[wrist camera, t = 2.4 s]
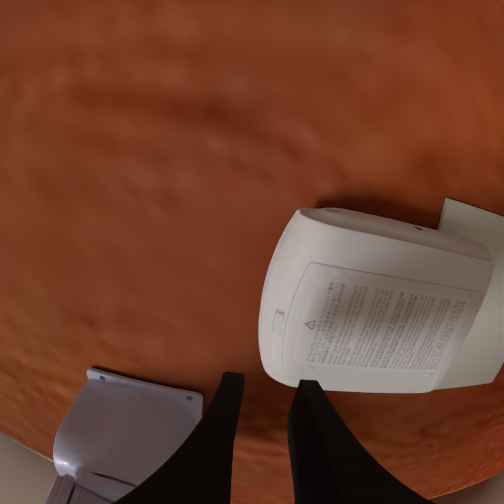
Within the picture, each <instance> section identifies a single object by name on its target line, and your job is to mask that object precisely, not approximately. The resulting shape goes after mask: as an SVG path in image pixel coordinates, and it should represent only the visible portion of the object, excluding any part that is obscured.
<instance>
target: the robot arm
mask: <svg viewBox="0 0 504 504" xmlns="http://www.w3.org/2000/svg"><path fill="white" fill-rule="evenodd" d="M87 376H88V379H87V381H86V383H85V384H84V386H83V388H82V389H81V391H80V392H79V394H78V396H77V397H76V399H75V401H74V402H73V404H72V406H71V407H70V409H69V411H68V413H67V414H66V416H65V418H64V419H63V421H62V423H61V425H60V427H59V429H58V431H57V434H56V438H55V442H54V448H53V459H54V463H55V467H56V470H57V471H58V473H59V474H60V476H57V477H56V479H55V480H54V482H53V484H52V486H51V488H50V490H49V492H48V494H47V497H46V499H45V501H44V503H43V504H230V495H231V476H232V459H233V444H234V439H235V434H236V429H237V423H238V418H239V413H240V408H241V403H242V397H243V392H244V374H242V373H234V372H225V373H223V376H222V380H221V383H220V385H219V388H218V390H217V392H216V394H215V396H214V398H213V400H212V402H211V403H210V405H209V407H208V408H207V410H206V412H205V413H204V415H203V417H202V409H203V395H202V394H200V393H198V392H193V391H188V390H182V389H177V388H172V387H167V386H162V385H157V384H153V383H148V382H144V381H140V380H136V379H132V378H128V377H124V376H120V375H116V374H112V373H109V372H105V371H102V370H98V369H95V368H89V369H88V370H87ZM188 396H190V397H188ZM288 445H289V453H290V461H291V468H292V476H293V484H294V495H295V504H435V503H433V502H431V501H429V500H427V499H426V498H424V497H422V496H420V495H419V494H417V493H416V492H414V491H413V490H411V489H410V488H408V487H407V486H405V485H404V484H403V483H401V482H400V481H399V480H398V479H396V478H395V477H394V476H393V475H391V474H390V473H389V472H388V471H387V470H385V469H384V468H383V467H382V466H381V465H380V464H379V463H378V462H377V461H376V460H375V459H374V458H373V457H372V456H371V455H370V454H369V453H368V452H367V451H366V449H365V448H364V447H363V446H362V445H361V444H360V442H359V441H358V440H357V439H356V437H355V436H354V435H353V434H352V432H351V431H350V430H349V428H348V427H347V426H346V424H345V423H344V421H343V420H342V419H341V417H340V416H339V414H338V413H337V411H336V410H335V408H334V407H333V405H332V404H331V402H330V400H329V399H328V397H327V395H326V394H325V392H324V391H323V389H322V387H321V386H320V384H319V382H318V381H317V380H305V379H300V381H299V384H298V387H297V390H296V393H295V396H294V399H293V402H292V405H291V408H290V411H289V414H288Z"/></svg>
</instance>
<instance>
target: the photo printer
mask: <svg viewBox="0 0 504 504" xmlns="http://www.w3.org/2000/svg"><path fill="white" fill-rule="evenodd" d="M493 270H494V264H493V260H492V256H491V254H490V252H489V250H488V249H487V248H486V246H484V245H483V244H482V243H480V242H477V241H473V240H470V239H466V238H463V237H459V236H456V235H452V234H449V233H445V232H441V231H437V230H434V229H430V228H426V227H422V226H417V225H414V224H410V223H406V222H402V221H397V220H393V219H389V218H384V217H380V216H375V215H371V214H366V213H362V212H357V211H352V210H348V209H342V208H321V209H316V208H300V209H298V210H297V211H296V212H295V214H294V215H293V217H292V219H291V220H290V222H289V223H288V225H287V227H286V228H285V230H284V232H283V234H282V236H281V238H280V240H279V242H278V244H277V247H276V249H275V252H274V254H273V257H272V259H271V262H270V265H269V268H268V272H267V275H266V279H265V283H264V287H263V292H262V298H261V306H260V314H259V348H260V355H261V360H262V364H263V367H264V370H265V371H266V373H267V374H268V375H269V376H271V377H272V378H273V379H275V380H276V381H278V382H280V383H283V384H285V385H288V386H292V387H298V384H299V381H300V379H305V380H317V381H318V382H319V384H320V386H321V387H322V389H323V390H332V391H348V392H372V393H425V392H430V391H432V390H433V389H434V388H435V387H436V386H437V385H438V384H439V383H440V381H441V380H442V379H443V377H444V375H445V374H446V372H447V371H448V369H449V367H450V366H451V364H452V362H453V361H454V359H455V357H456V355H457V353H458V352H459V350H460V348H461V346H462V344H463V343H464V341H465V339H466V337H467V335H468V333H469V331H470V329H471V327H472V325H473V322H474V320H475V318H476V316H477V314H478V312H479V310H480V308H481V305H482V303H483V300H484V298H485V295H486V293H487V290H488V287H489V285H490V281H491V278H492V274H493Z"/></svg>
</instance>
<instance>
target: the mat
mask: <svg viewBox="0 0 504 504" xmlns="http://www.w3.org/2000/svg"><path fill="white" fill-rule="evenodd" d="M437 231H441V232H445V233H449V234H452V235H456V236H459V237H463V238H466V239H470V240H473V241H477V242H480V243H482V244H483V245H484V246H486V248H487V249H488V250H489V252H490V254H491V256H492V260H493V264H494V270H493V274H492V278H491V281H490V285H489V287H488V290H487V293H486V295H485V298H484V300H483V303H482V305H481V308H480V310H479V312H478V314H477V316H476V318H475V320H474V322H473V325H472V327H471V329H470V331H469V333H468V335H467V337H466V339H465V341H464V343H463V344H462V346H461V348H460V350H459V352H458V353H457V355H456V357H455V359H454V361H453V362H452V364H451V366H450V367H449V369H448V371H447V372H446V374H445V375H444V377H443V379H442V380H441V381H440V383H439V384H438V385H437V386H436V387H435V388H434V389H433V390H435V389H446V388H456V387H464V386H472V385H480V384H486V383H492V381H493V380H494V378H495V377H496V375H497V373H498V372H499V370H500V368H501V366H502V365H503V363H504V217H503V216H500V215H497V214H494V213H491V212H488V211H486V210H483V209H480V208H477V207H474V206H471V205H468V204H464V203H461V202H458V201H455V200H452V199H448V198H445V201H444V206H443V210H442V214H441V218H440V222H439V226H438V229H437Z"/></svg>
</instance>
